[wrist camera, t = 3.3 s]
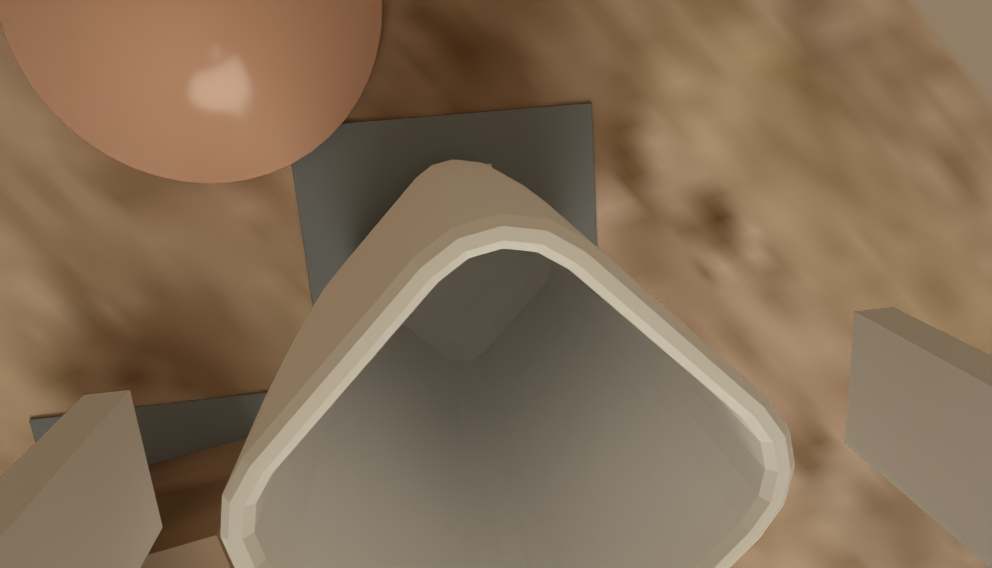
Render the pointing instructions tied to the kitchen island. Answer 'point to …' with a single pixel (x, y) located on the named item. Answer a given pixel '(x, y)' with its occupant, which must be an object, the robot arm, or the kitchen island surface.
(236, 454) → the walnut block
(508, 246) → the cup
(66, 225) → the kitchen island surface
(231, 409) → the code tile
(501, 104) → the kitchen island surface
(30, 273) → the kitchen island surface
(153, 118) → the salmon round part
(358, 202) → the code tile
